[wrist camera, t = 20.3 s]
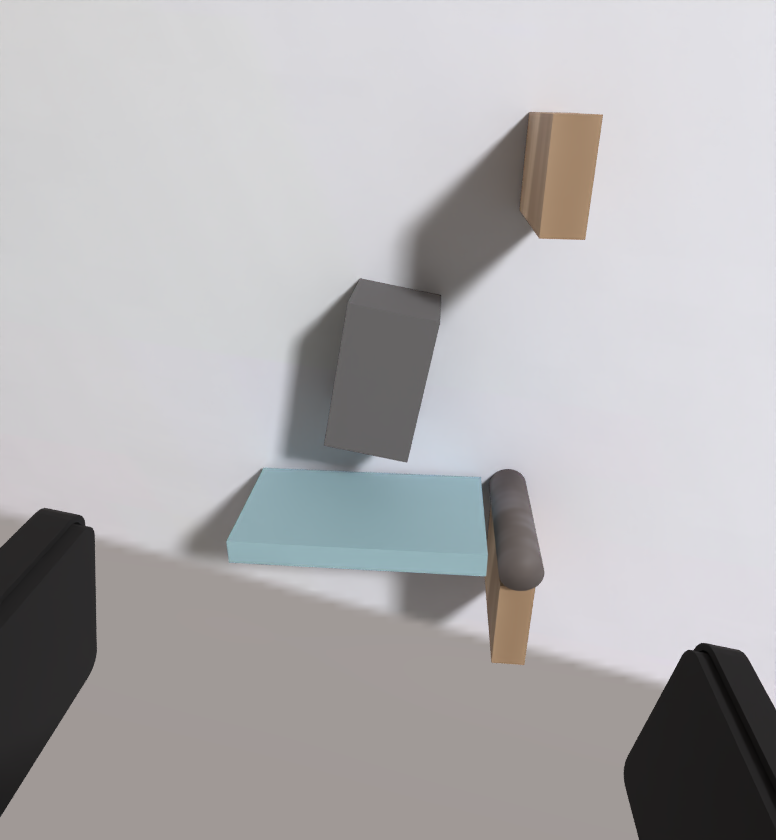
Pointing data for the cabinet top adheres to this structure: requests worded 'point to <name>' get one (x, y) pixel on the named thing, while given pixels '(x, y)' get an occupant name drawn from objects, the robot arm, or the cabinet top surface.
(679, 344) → the cabinet top surface
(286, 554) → the door
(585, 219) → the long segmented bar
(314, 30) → the cabinet top surface
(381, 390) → the charcoal brick
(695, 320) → the cabinet top surface
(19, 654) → the robot arm
